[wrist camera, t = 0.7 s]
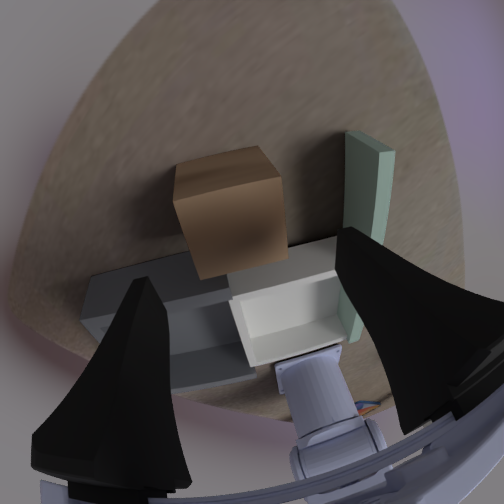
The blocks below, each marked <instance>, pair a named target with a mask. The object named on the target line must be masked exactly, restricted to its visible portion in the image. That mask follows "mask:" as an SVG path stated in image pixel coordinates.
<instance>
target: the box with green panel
mask: <svg viewBox="0 0 504 504" xmlns="http://www.w3.org/2000/svg"><path fill="white" fill-rule="evenodd" d="M394 161H395V150H393V149H392V148H390V147H388V146H386V145H385V144H383V143H381V142H380V141H378V140H376V139H374V138H372V137H371V136H369V135H367V134H365V133H363V132H361V131H350V132H345V193H344V215H343V228H346V227H350V226H352V227H354V228H355V229H357V230H359V231H361V232H362V233H364V234H365V235H367V236H369V237H370V238H372V239H373V240H375V241H376V242H378V243H380V244H381V245H383V241H384V236H385V230H386V224H387V218H388V212H389V205H390V197H391V190H392V181H393V172H394ZM336 243H337V236H334V237H330V238H326V239H322V240H318V241H314V242H310V243H306V244H302V245H298V246H294V247H290V248H288V257H289V259H285V260H281V261H277V262H273V263H269V264H265V265H261V266H257V267H253V268H249V269H245V270H241V271H237V272H233V273H228V279H229V283H230V288H231V293H232V298H233V300H229V304H230V307H231V310H232V313H233V316H234V320H235V323H236V326H237V329H238V332H239V335H240V338H241V341H242V344H243V347H244V350H245V353H246V356H247V359H248V362H249V364H250V367H254V366H258V365H262V364H266V363H270V362H274V361H278V360H281V359H285V358H289V357H292V356H296V355H299V354H302V353H306V352H309V351H312V350H315V349H319V348H322V347H325V346H328V345H331V344H334V343H337V342H340V341H343V340H346V339H347V341H348V343H352V342H355V341H358V340H359V338H360V335H361V332H362V329H363V325H364V323H363V322H362V320H361V318H360V317H359V315H358V313H357V311H356V310H355V308H354V306H353V305H352V303H351V301H350V300H349V298H348V296H347V295H346V293H345V291H344V289H343V287H342V285H341V282H340V280H339V278H338V276H337V273H336V271H335V257H336Z"/></svg>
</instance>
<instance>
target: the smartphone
mask: <svg viewBox="0 0 504 504" xmlns="http://www.w3.org/2000/svg"><path fill="white" fill-rule="evenodd" d="M354 404H355V406H356V408H357V411H358V413H359V416H361V415H362V416H363V415H365V414H366V413H368V412H370V411H372V410H374V409H375V408H377V407H379V406H380V405H381V404H380V402H371V401H358V402H356V403H354Z"/></svg>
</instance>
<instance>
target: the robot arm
mask: <svg viewBox="0 0 504 504" xmlns="http://www.w3.org/2000/svg"><path fill="white" fill-rule="evenodd" d="M335 271H336V273H337V276H338V278H339V280H340V282H341V285H342V287H343V289H344V291H345V293H346V295H347V296H348V298H349V300H350V301H351V303H352V305H353V306H354V308H355V310H356V311H357V313H358V315H359V317H360V318H361V320H362V322H363V323H364V325H365V327H366V329H367V330H368V332H369V334H370V336H371V338H372V340H373V342H374V344H375V347H376V349H377V351H378V354H379V356H380V359H381V361H382V364H383V367H384V369H385V372H386V375H387V378H388V381H389V384H390V387H391V391H392V394H393V397H394V401H395V405H396V409H397V413H398V417H399V422H400V427H401V429H402V432H403V433H404V435H406V434H408V433H410V432H412V431H414V430H415V429H417V428H419V427H421V426H422V425H424V424H426V423H428V422H429V421H432V424H430V425H428V426H427V427H425V428H423V429H422V430H420V431H418V432H416V433H415V434H413V435H411V436H409V437H407V438H406V439H404V440H402V441H400V442H398V443H396V444H394V445H392V446H390V447H388V448H387V445H386V442H385V439H384V437H383V435H382V432H381V430H380V428H379V426H378V424H377V423H376V422H375V421H374V420H371V419H369V418H368V419H366V420H363V417H362V415H361V416H359V413H358V411H357V408H356V406H355V404H354V401H353V399H352V396H351V394H350V392H349V389H348V387H347V384H346V382H345V380H344V377H343V375H342V373H341V370H340V368H339V366H338V362H339V358H340V354H341V350H342V346H341V345H340V344H338V345H335V346H332V347H329V348H326V349H323V350H320V351H317V352H313V353H310V354H307V355H304V356H300V357H297V358H293V359H290V360H286V361H283V362H279V363H276V364H275V372H276V378H277V383H278V389H279V393H280V394H285V396H286V399H287V403H288V406H289V409H290V412H291V416H292V419H293V422H294V425H295V429H296V432H297V435H298V440H296V443H297V446H294V447H293V448H292V451H291V452H290V464H291V469H292V472H293V475H294V478H295V480H296V481H295V482H291V483H287V484H283V485H279V486H275V487H270V488H265V489H260V490H254V491H248V492H242V493H236V494H228V495H220V496H208V497H194V498H167V493H176V490H175V489H185V488H188V487H189V486H190V485H191V483H192V480H191V477H190V474H189V471H188V468H187V465H186V462H185V458H184V455H183V451H182V447H181V443H180V440H179V435H178V431H177V426H176V421H175V416H174V410H173V404H172V398H171V387H170V332H169V323H168V315H167V310H166V308H165V306H164V304H163V303H162V301H161V299H160V297H159V295H158V294H157V292H156V290H155V288H154V286H153V284H152V283H151V281H150V279H149V277H148V276H145V277H141V278H137V279H133V281H132V283H131V285H130V287H129V288H128V290H127V292H126V294H125V296H124V298H123V300H122V302H121V304H120V306H119V308H118V310H117V312H116V314H115V316H114V318H113V320H112V322H111V324H110V326H109V328H108V330H107V332H106V333H105V335H104V337H103V339H102V341H101V343H100V345H99V346H98V348H97V350H96V352H95V353H94V355H93V357H92V359H91V360H90V362H89V363H88V365H87V367H86V368H85V370H84V371H83V373H82V374H81V376H80V377H79V379H78V380H77V381H76V383H75V384H74V386H73V387H72V388H71V390H70V392H69V393H68V394H67V396H66V397H65V398H64V399H63V401H62V402H61V403H60V404H59V406H58V407H57V408H56V409H55V410H54V412H53V413H52V414H51V415H50V416H49V417H48V418H47V420H45V422H44V423H43V424H42V425H41V426H40V427H39V428H38V429H37V430H36V431H35V432H34V433H33V434H32V446H31V467H32V468H33V469H34V470H37V471H39V472H42V473H45V474H47V475H50V476H54V477H57V478H60V479H63V480H67V481H68V486H64V485H60V484H56V483H52V482H48V481H44V480H40V493H41V504H280V503H285V502H289V501H293V500H297V499H301V498H304V500H305V501H306V502H307V503H308V504H459V503H460V502H461V501H462V500H463V499H464V498H465V497H466V496H467V495H468V494H469V493H470V492H471V491H472V490H473V489H474V488H475V487H476V486H477V485H478V484H479V483H480V482H481V481H482V480H483V479H484V478H485V477H486V476H487V475H488V474H489V473H490V471H491V470H492V469H493V468H494V467H495V466H496V465H497V463H498V462H499V461H500V460H501V458H502V457H503V456H504V302H501V301H497V300H494V299H490V298H487V297H484V296H481V295H478V294H475V293H473V292H470V291H467V290H465V289H462V288H460V287H458V286H455V285H453V284H451V283H448V282H446V281H444V280H442V279H440V278H438V277H436V276H434V275H432V274H430V273H428V272H426V271H424V270H422V269H421V268H419V267H417V266H415V265H414V264H412V263H410V262H409V261H407V260H405V259H403V258H402V257H400V256H399V255H397V254H395V253H394V252H392V251H391V250H389V249H387V248H386V247H384V246H383V245H381V244H380V243H378V242H376V241H375V240H373V239H372V238H370V237H369V236H367V235H365V234H364V233H362V232H361V231H359V230H357V229H355V228H354V227H352V226H350V227H346V228H342V229H338V230H337V243H336V257H335ZM423 447H424V448H423ZM421 448H423V450H422V454H421V455H418V456H416V457H414V458H412V459H410V460H408V461H406V462H404V463H402V464H400V465H398V466H396V467H395V468H393V467H392V464H394V463H395V462H397V461H399V460H401V459H403V458H405V457H407V456H409V455H411V454H412V453H414V452H416V451H418V450H419V449H421Z"/></svg>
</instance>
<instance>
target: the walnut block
mask: <svg viewBox="0 0 504 504" xmlns="http://www.w3.org/2000/svg"><path fill="white" fill-rule="evenodd" d="M173 204H174V207H175V210H176V213H177V216H178V219H179V222H180V225H181V228H182V231H183V234H184V236H185V239H186V242H187V245H188V248H189V251H190V253H191V256H192V259H193V262H194V264H195V267H196V270H197V272H198V275H199V278H200V280H203V279H208V278H212V277H216V276H220V275H224V274H228V273H233V272H237V271H241V270H245V269H249V268H253V267H257V266H261V265H265V264H269V263H273V262H277V261H281V260H285V259H289V257H288V244H287V232H286V220H285V209H284V198H283V188H282V178H281V175H280V174H279V173H278V171H277V170H276V169H275V167H274V166H273V165H272V163H271V162H270V161H269V159H268V158H267V157H266V156H265V154H264V153H263V152H262V150H261V149H260V148H259V147H258V146H253V147H248V148H243V149H238V150H234V151H229V152H224V153H220V154H216V155H211V156H207V157H203V158H199V159H195V160H191V161H187V162H183V163H180V164H176V173H175V183H174V193H173Z"/></svg>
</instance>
